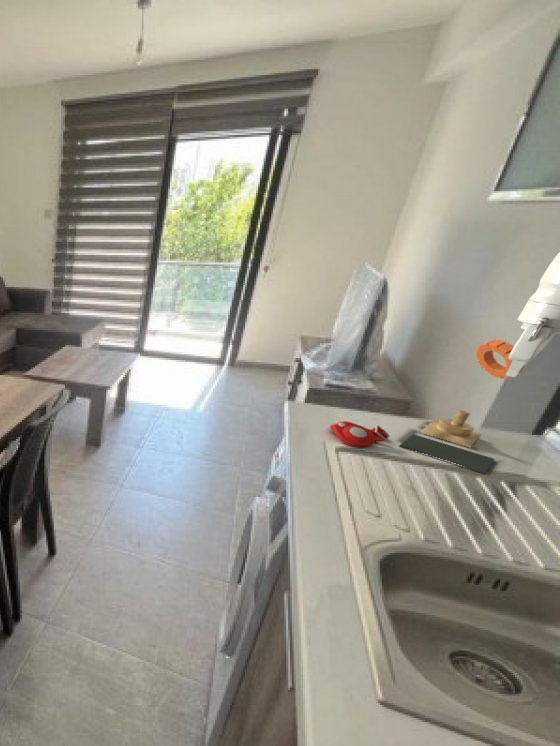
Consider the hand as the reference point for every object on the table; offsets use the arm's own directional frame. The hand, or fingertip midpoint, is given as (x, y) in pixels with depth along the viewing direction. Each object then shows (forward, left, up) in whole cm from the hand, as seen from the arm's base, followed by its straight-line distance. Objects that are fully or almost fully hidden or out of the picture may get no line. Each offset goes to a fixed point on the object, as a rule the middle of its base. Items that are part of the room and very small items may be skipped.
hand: (513, 373), depth 116 cm
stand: (+4, -1, -19) cm, 20 cm away
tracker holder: (+17, +26, -19) cm, 36 cm away
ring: (+4, 0, +2) cm, 5 cm away
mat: (+2, +14, -19) cm, 24 cm away
